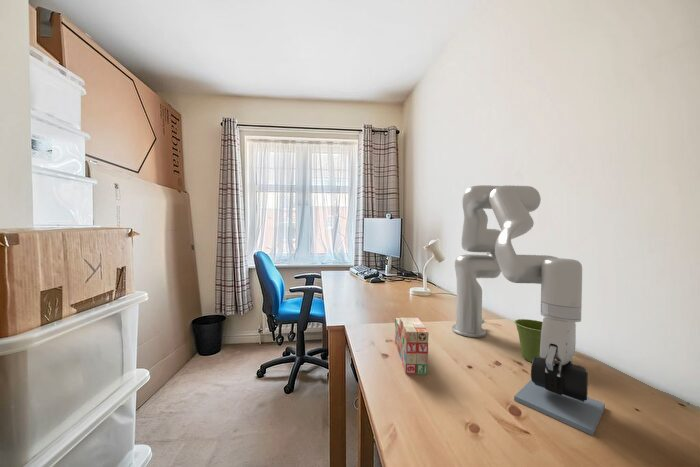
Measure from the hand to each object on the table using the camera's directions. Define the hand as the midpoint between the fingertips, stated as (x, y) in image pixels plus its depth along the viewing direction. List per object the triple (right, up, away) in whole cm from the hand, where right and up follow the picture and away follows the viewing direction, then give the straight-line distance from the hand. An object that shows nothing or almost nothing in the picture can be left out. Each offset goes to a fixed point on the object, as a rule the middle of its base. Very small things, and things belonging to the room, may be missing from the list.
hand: (558, 385), depth 62 cm
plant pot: (+10, -5, +22) cm, 25 cm away
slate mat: (0, -4, 0) cm, 4 cm away
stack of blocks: (-30, -4, +22) cm, 38 cm away
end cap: (0, -2, 0) cm, 2 cm away
